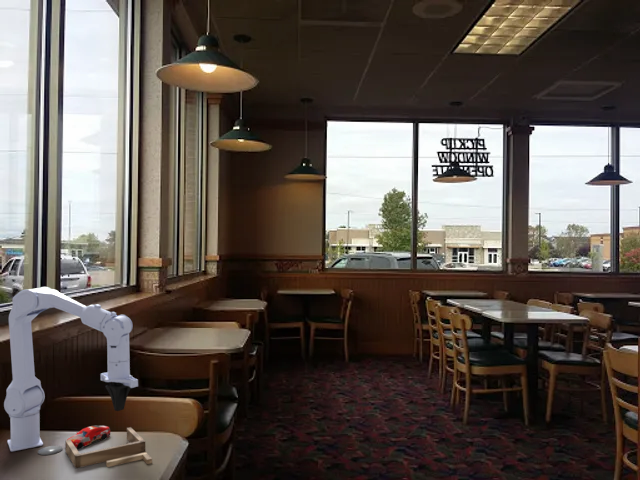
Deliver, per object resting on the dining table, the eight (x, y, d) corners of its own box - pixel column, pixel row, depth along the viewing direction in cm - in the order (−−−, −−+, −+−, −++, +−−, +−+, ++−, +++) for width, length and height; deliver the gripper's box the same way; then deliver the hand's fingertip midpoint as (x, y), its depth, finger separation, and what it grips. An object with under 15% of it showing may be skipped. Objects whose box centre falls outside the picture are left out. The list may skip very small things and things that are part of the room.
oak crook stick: (111, 472, 137) (111, 468, 137) (106, 465, 141) (106, 461, 141) (152, 463, 142) (151, 458, 142) (146, 456, 147) (146, 452, 147)
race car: (72, 452, 151) (72, 438, 151) (60, 449, 154) (60, 434, 154) (113, 437, 162) (113, 423, 162) (101, 434, 165) (101, 420, 165)
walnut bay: (65, 451, 151) (65, 440, 151) (131, 437, 161) (130, 427, 161) (75, 468, 139) (75, 456, 139) (145, 452, 149) (145, 441, 149)
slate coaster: (36, 449, 152) (36, 448, 152) (60, 445, 156) (60, 443, 156) (39, 456, 147) (39, 455, 147) (64, 451, 151) (64, 450, 151)
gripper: (90, 359, 154) (90, 409, 154) (121, 366, 145) (122, 418, 145) (112, 355, 160) (113, 402, 160) (144, 361, 151) (145, 411, 151)
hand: (119, 409), depth 153 cm, fingers closed
